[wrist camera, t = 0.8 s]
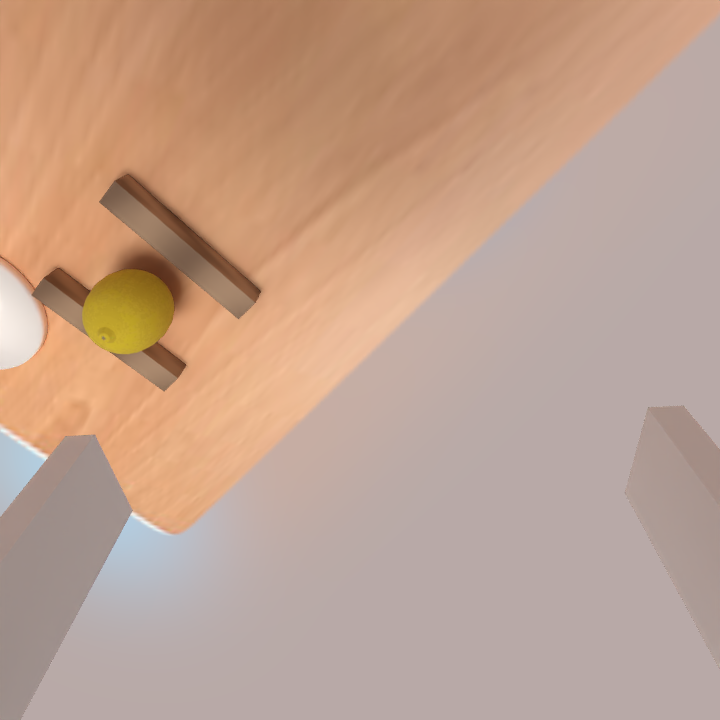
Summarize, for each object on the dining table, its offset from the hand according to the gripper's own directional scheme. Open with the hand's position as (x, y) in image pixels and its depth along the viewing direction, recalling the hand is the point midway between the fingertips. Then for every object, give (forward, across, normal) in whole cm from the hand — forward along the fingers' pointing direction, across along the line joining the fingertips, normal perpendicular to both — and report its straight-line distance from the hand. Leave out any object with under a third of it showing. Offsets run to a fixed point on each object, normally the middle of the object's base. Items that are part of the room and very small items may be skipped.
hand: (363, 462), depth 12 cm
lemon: (+26, -18, -6) cm, 32 cm away
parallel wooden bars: (+26, -18, -6) cm, 32 cm away
